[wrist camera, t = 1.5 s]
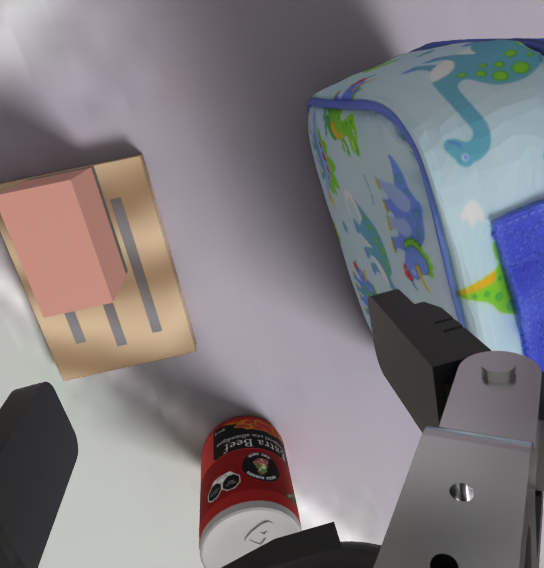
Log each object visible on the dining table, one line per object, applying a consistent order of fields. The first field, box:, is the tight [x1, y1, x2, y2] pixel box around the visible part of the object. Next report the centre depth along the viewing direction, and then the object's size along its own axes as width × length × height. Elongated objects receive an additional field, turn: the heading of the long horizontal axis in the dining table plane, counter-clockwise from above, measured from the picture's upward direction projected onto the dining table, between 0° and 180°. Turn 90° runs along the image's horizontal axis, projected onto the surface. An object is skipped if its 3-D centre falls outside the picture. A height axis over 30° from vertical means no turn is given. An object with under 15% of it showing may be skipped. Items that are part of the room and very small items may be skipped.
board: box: [0, 154, 196, 381], centre depth 37 cm, size 16×11×2 cm
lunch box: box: [307, 38, 544, 507], centre depth 30 cm, size 26×11×21 cm, turn 22°
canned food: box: [199, 416, 301, 568], centre depth 41 cm, size 8×8×11 cm
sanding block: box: [0, 166, 128, 318], centre depth 32 cm, size 8×4×6 cm, turn 11°
